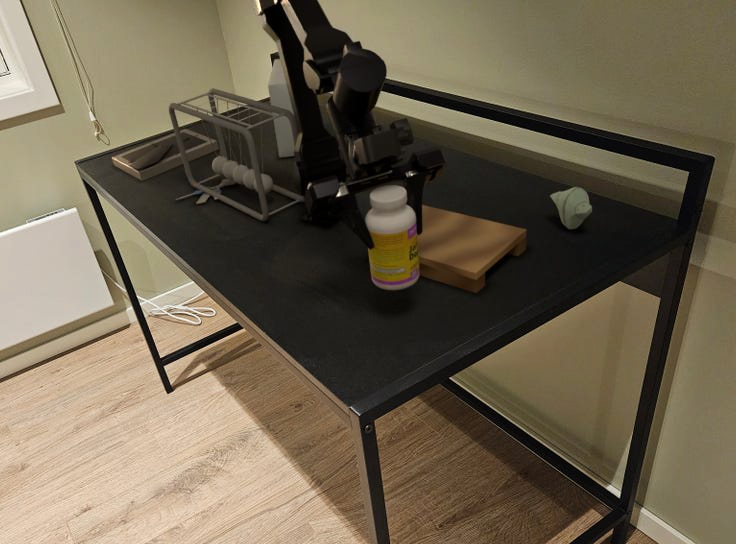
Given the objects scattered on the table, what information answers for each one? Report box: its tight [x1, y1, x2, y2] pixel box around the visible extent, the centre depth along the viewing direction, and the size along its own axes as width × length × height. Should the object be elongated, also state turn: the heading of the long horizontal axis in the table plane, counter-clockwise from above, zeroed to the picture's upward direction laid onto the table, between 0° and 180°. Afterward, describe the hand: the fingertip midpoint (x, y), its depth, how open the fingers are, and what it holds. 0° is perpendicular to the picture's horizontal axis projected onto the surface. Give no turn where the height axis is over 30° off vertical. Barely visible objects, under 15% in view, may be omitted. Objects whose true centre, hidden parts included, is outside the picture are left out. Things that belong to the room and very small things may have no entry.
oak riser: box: [367, 204, 527, 294], centre depth 103 cm, size 20×14×4 cm
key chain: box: [175, 178, 237, 205], centre depth 137 cm, size 14×8×1 cm, turn 126°
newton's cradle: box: [168, 88, 305, 222], centre depth 129 cm, size 30×10×18 cm, turn 38°
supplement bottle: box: [364, 184, 420, 291], centre depth 87 cm, size 7×7×13 cm
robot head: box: [549, 186, 593, 230], centre depth 103 cm, size 8×4×7 cm, turn 25°
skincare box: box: [267, 58, 295, 159], centre depth 150 cm, size 21×6×16 cm, turn 179°
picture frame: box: [111, 128, 220, 182], centre depth 158 cm, size 16×3×21 cm
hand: (396, 241), depth 86 cm, fingers closed on supplement bottle, 6 cm apart
